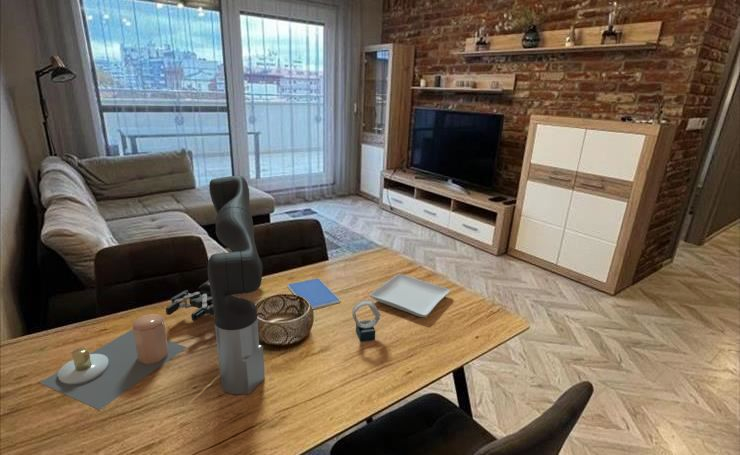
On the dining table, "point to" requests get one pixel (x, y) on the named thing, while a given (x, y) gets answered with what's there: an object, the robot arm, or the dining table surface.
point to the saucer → (74, 377)
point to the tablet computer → (314, 293)
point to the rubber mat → (113, 372)
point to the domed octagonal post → (150, 338)
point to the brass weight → (81, 359)
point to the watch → (366, 322)
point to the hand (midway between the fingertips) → (179, 314)
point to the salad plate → (410, 295)
